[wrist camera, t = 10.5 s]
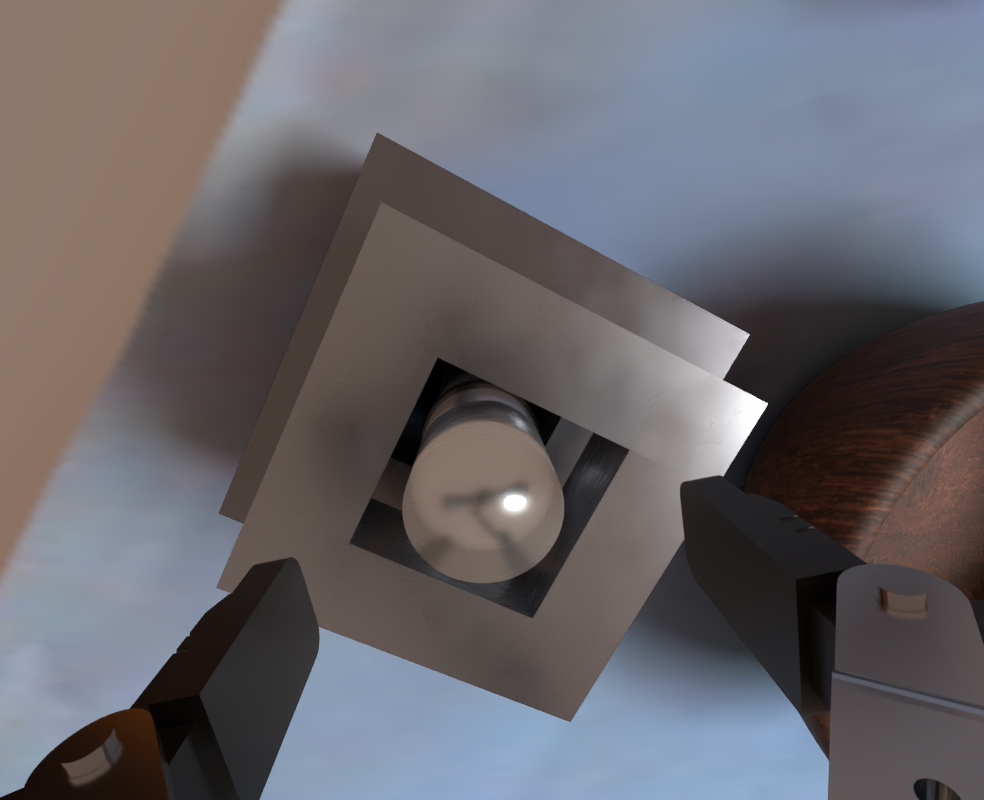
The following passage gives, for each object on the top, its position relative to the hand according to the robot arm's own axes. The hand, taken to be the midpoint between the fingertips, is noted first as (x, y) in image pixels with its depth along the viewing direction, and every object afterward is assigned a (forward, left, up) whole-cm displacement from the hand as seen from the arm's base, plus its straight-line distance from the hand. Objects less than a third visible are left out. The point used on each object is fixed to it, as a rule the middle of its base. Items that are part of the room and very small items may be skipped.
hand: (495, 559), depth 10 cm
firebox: (0, 0, -16) cm, 16 cm away
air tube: (0, 0, -16) cm, 16 cm away
